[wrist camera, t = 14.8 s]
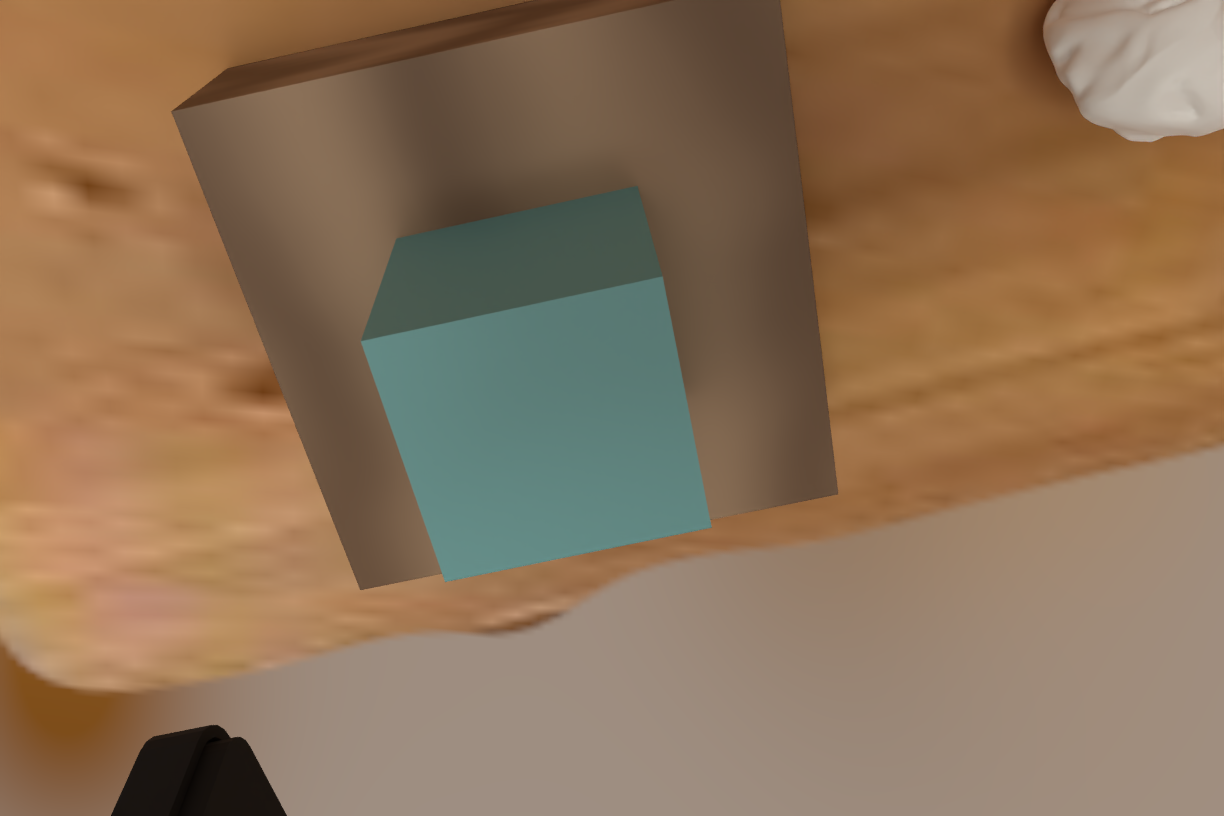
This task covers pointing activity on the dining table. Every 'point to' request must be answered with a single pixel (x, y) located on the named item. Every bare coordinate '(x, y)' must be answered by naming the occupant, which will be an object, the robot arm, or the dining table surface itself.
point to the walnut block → (516, 181)
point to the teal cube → (536, 385)
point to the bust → (1141, 63)
